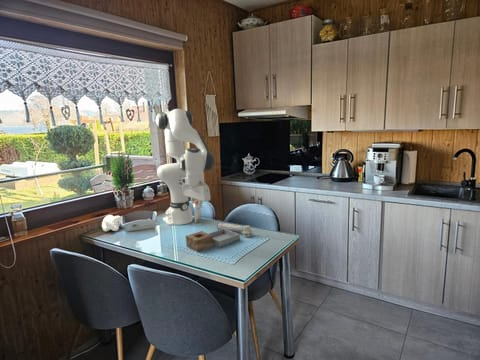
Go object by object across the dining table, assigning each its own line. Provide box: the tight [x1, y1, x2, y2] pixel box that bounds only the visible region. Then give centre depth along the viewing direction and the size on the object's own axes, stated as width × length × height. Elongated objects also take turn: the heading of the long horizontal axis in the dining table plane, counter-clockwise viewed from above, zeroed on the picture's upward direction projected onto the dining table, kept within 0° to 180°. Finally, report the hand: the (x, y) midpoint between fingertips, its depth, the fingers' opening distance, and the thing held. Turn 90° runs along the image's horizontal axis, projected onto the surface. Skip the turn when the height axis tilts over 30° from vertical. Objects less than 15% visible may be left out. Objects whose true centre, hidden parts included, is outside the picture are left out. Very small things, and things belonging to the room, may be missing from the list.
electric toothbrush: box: [216, 222, 253, 238], centre depth 182 cm, size 5×7×25 cm
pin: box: [193, 199, 202, 224], centre depth 160 cm, size 3×3×11 cm
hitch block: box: [185, 230, 214, 253], centre depth 163 cm, size 10×10×6 cm
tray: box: [208, 228, 241, 249], centre depth 170 cm, size 14×14×4 cm
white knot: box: [101, 214, 123, 232], centre depth 195 cm, size 11×12×9 cm
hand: (197, 206), depth 160 cm, fingers closed on pin, 3 cm apart
